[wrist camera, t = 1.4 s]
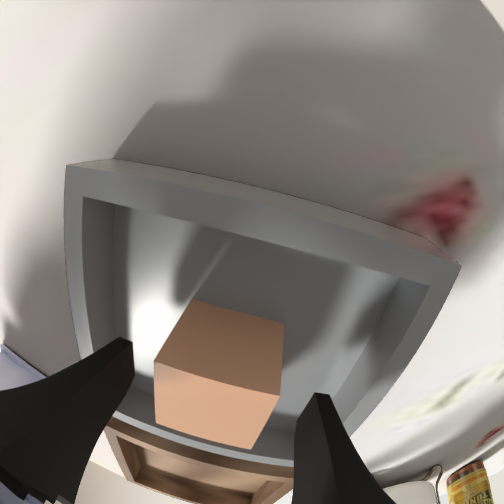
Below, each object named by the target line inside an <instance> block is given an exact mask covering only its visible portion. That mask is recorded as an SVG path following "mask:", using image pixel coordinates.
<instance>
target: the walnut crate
mask: <svg viewBox="0 0 504 504" xmlns="http://www.w3.org/2000/svg"><path fill="white" fill-rule="evenodd" d="M104 432H105V434H106V437H107V439H108V441H109V444H110V446H111V448H112V451H113V453H114V455H115V457H116V459H117V461H118V463H119V466H120V468H121V470H122V472H123V474H124V475H125V477H126V479H127V480H128V481H130V482H133V483H135V484H137V485H140V486H143V487H145V488H147V489H150V490H153V491H155V492H158V493H161V494H164V495H167V496H170V497H173V498H177V499H180V500H183V501H186V502H190V503H194V504H273V503H275V502H276V501H277V500H279V499H280V498H281V497H283V496H284V495H285V494H287V493H288V492H289V491H291V490H292V489H293V481H294V467H287V466H279V465H272V464H265V463H259V462H253V461H248V460H242V459H238V458H233V457H228V456H224V455H220V454H216V453H212V452H208V451H204V450H201V449H197V448H194V447H190V446H187V445H184V444H181V443H178V442H175V441H172V440H169V439H166V438H163V437H161V436H158V435H155V434H152V433H150V432H147V431H145V430H142V429H140V428H138V427H135V426H133V425H130V424H128V423H126V422H124V421H122V420H119V419H117V418H115V417H113V416H112V417H111V419H110V420H109V422H108V423H107V425H106V427H105V428H104Z"/></svg>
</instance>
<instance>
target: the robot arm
mask: <svg viewBox="0 0 504 504" xmlns="http://www.w3.org/2000/svg"><path fill="white" fill-rule="evenodd" d="M0 348H1V352H0V504H44V503H45V501H46V500H48V501H49V502H51V503H52V504H54V503H55V501H56V500H58V501H59V502H61V503H62V504H74V503H75V499H76V495H77V492H78V488H79V485H80V482H81V479H82V476H83V473H84V470H85V468H86V465H87V463H88V460H89V458H90V456H91V453H92V451H93V449H94V447H95V445H96V442H97V440H98V438H99V436H100V435H101V433H102V431H103V430H104V428H105V427H106V425H107V423H108V422H109V420H110V419H111V417H112V416H113V414H114V413H115V411H116V410H117V408H118V406H119V405H120V403H121V402H122V400H123V399H124V397H125V396H126V394H127V392H128V390H129V388H130V385H131V383H132V381H133V379H134V377H135V366H134V353H133V342H131V341H129V340H126V339H124V338H122V337H118V338H117V339H115V340H113V341H112V342H110V343H108V344H107V345H105V346H104V347H102V348H100V349H99V350H97V351H96V352H94V353H92V354H91V355H89V356H87V357H86V358H84V359H82V360H80V361H79V362H77V363H75V364H73V365H71V366H69V367H67V368H66V369H64V370H62V371H60V372H58V373H55V374H53V375H51V376H49V377H46V376H44V375H43V374H41V373H40V372H39V371H37V370H36V369H34V368H33V367H32V366H30V365H29V364H27V363H26V362H25V361H23V360H22V359H21V358H20V357H18V356H17V355H16V354H14V353H13V352H12V351H11V350H10V349H8V348H7V347H6V346H5V345H4V344H0ZM291 504H396V503H395V502H394V501H393V500H392V499H391V498H390V496H389V495H388V494H387V493H386V492H385V491H384V490H383V489H382V488H381V486H380V485H379V484H378V483H377V481H376V480H375V479H374V477H373V476H372V475H371V473H370V472H369V470H368V469H367V467H366V466H365V464H364V463H363V461H362V459H361V458H360V456H359V454H358V453H357V451H356V449H355V447H354V445H353V444H352V442H351V440H350V438H349V436H348V434H347V432H346V430H345V428H344V426H343V423H342V421H341V419H340V417H339V415H338V412H337V410H336V408H335V406H334V403H333V401H332V399H331V397H330V395H329V394H323V393H317V392H314V394H313V396H312V397H311V399H310V400H309V402H308V404H307V405H306V407H305V408H304V410H303V411H302V413H301V414H300V416H299V417H298V419H297V422H296V430H295V437H294V481H293V497H292V503H291Z"/></svg>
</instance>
